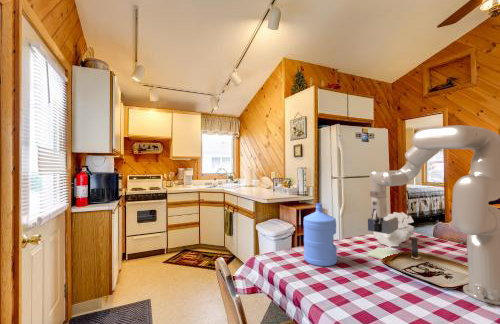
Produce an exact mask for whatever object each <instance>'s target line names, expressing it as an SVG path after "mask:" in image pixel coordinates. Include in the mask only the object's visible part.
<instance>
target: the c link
mask: <svg viewBox="0 0 500 324" xmlns="http://www.w3.org/2000/svg"><path fill="white" fill-rule="evenodd" d="M397 229H398V218H396V217H395V218H392V219H390V220H388V221H385V220H381V230H382V231H381V232H380V233H385V234H390V233H392V232H394V231H396V230H397ZM367 231H369V232H370V231H371V232H373V231H374V220H373V217H372V216H371V217H369V218H367ZM374 232H377V231H374Z"/></svg>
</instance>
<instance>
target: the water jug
mask: <svg viewBox="0 0 500 324" xmlns="http://www.w3.org/2000/svg"><path fill="white" fill-rule="evenodd" d="M336 233H337V220H336V218H335V217H333V216H331V215H329V214H327V213H326V212H324V211H323V203H322V202H321V203H320V202H316V203H315V211H314V212H312V213H310V214H308V215H305V216H304V217H303V246H304V247H303V248H304V249H303V251H304V253H303V258H304V261H305V262H306V263H308V264H310V265H312V266H318V267H331V266H334V265H336V264H337V262H338V256H337V255H338V254H337V252H338V251H337V249H338V248H337V246H336V244H334V235H335V234H336Z"/></svg>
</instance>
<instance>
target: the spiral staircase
mask: <svg viewBox="0 0 500 324" xmlns="http://www.w3.org/2000/svg"><path fill="white" fill-rule="evenodd" d="M395 217H396V218H398V229H397V230H396V231H394V232H392V233H390V234H385V233H380V232H374V231H372V233H373V235H374V239H376V240H377V241H378V243H380V244H381V245H385V246H387V247H389V248H391V247H400V245H402V243H403V242H407V241H408V240H410V238H411V237H413V235H415V233H414V229H415V226H413V225H411V224H412V223H414V222H415V221H414V219H413V217H412V216H411V215H407V214H406V213H405V212H403V211H401V212H395V211H393V213H387V216H386V217H384V219H383V220H385V221H388V220H390V219H392V218H395Z"/></svg>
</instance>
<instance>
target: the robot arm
mask: <svg viewBox="0 0 500 324" xmlns="http://www.w3.org/2000/svg"><path fill="white" fill-rule="evenodd" d="M411 144H412V146H411V147H409V148H408V150H407V151H406V152H405V153H404V157H405V159H406V160H407V162H406V163H405V164H404V165H403V166H402V167H401V168H400V169H398V170H396V169H395V170H382V171H381V170H372V171H369V198H371V199H370V217H371V218H372V217H373V220H374V231H377V232H381V231H382V230H381V220H383V219H384V217H386V216H387V215H388V205H387V187H395V186H396V187H397V186H398V187H400V186H405V185H406V184H408V183H409V182H411V181H412V180H413V179H415V178H416V177H417V176H418V175H419V174H420V172H421V170H422V168H423V166H424V165H425V164H426V163H427V162H428V161H430V160H431V159H432V158H433V157H434V156H436V155H437V154H438V153H440V152H441V151H442V150H471V151H473V155H472V157H471V161H470V172H469V174H467V175H463V176H461V177H460V178H458V180H456V182H455V184H454V185H453V189H452V203H451V220H452V224H453V225H454V227H455V229H457V230H458V231H459V232H461V233H463V234H465V235H467V236H466V252H467V253H466V255H467V276H468V284H465V285H463V287H462V290H463V292H464V293H465V294H467V295H468V296H469V297H471V298H473V299H475V300H477V301H481V302H483V303H487V304H492V305H495V306H500V209H499V208H497V207H496V206H493V205H490V204H489V202H494V201H496V200H497V201H498V200H499V199H500V134H499V133H497V132H495V131H494V130H491V129H488V128H485V127H480V126H474V125H473V126H472V125H462V124H459V125H458V124H455V125H454V124H453V125H446V126H437V127H436V126H434V127H426V128H421V129H419V130H417V131H415V133H414V134H413V135H412V138H411Z"/></svg>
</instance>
